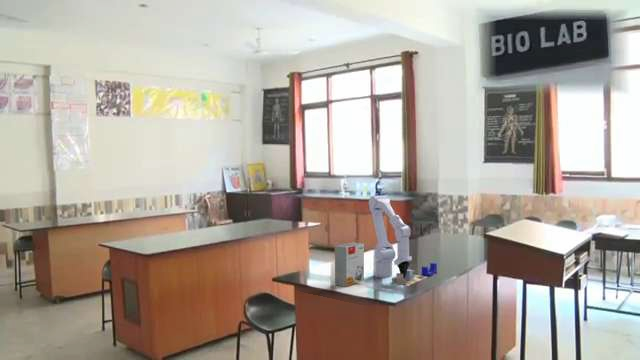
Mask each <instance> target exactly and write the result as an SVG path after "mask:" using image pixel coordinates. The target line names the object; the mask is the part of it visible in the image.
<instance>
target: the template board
mask: <svg viewBox="0 0 640 360" xmlns="http://www.w3.org/2000/svg"><path fill="white" fill-rule="evenodd" d="M412 270H413V269H412ZM413 276H414V280H411V281H408V280H405V277H403V274H401V273H400V272H396V276H394V277H391V282H390V283H391V284H396V285H401V286H408V287H409V286H410V285H413V284H415V283H418V282H419V281H422V280H425V279H427V278H428V276H422V275H417V274H416V270H413Z"/></svg>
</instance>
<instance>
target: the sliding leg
mask: <svg viewBox="0 0 640 360" xmlns="http://www.w3.org/2000/svg"><path fill="white" fill-rule="evenodd" d="M405 280H408V281H411V280H414V276H413V269H409V268H408V269H407V273H406V277H405ZM408 281H407V282H408Z"/></svg>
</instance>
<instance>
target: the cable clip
mask: <svg viewBox="0 0 640 360" xmlns="http://www.w3.org/2000/svg"><path fill="white" fill-rule="evenodd" d="M429 264H430V266H423V265H422V266H421V276H425V277H427V278H429V277H432V276H434V275H437V274H438V273H437V272H438V270H437V269H438V266H437V265H438V264H437V262H430V263H429Z"/></svg>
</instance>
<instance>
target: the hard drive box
mask: <svg viewBox="0 0 640 360" xmlns="http://www.w3.org/2000/svg"><path fill="white" fill-rule="evenodd" d="M363 280H365V244H364V243H360V242H349V243H343V244H339V245H335V246H334V285H335V286H336V285H337V286H340V287H345V288H347V287H350V286H353V285H356V284H357V283H358V282H361V281H363Z"/></svg>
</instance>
